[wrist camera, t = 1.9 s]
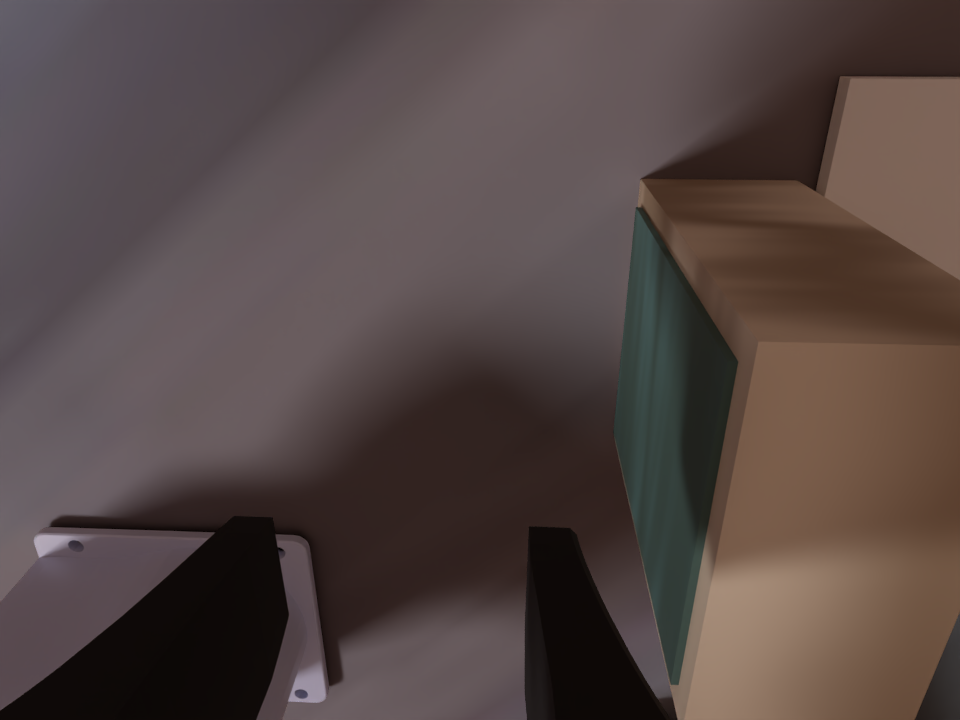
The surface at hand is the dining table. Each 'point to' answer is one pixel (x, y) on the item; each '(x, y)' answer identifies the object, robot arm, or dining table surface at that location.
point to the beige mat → (899, 161)
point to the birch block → (790, 452)
